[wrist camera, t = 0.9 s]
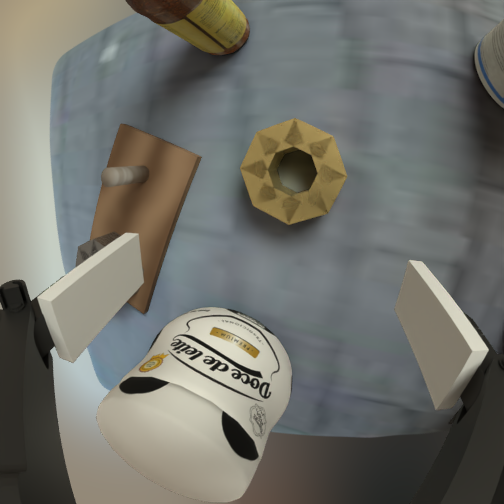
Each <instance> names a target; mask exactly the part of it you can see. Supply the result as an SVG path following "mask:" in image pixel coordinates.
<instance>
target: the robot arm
mask: <svg viewBox="0 0 504 504" xmlns="http://www.w3.org/2000/svg"><path fill="white" fill-rule="evenodd" d="M143 283H144V278H143V270H142V262H141V253H140V243H139V234H136V233H125V234H123V235H122V236H120V237H119V238H117V239H116V240H114V241H113V242H111V243H110V244H108V245H107V246H106V247H104V248H103V249H101V250H100V251H98V252H97V253H95V254H94V255H93V256H91V257H90V258H88V259H87V260H86V261H84V262H83V263H81V264H80V265H79V266H77V267H76V268H75V269H73V270H72V271H71V272H69V273H68V274H67V275H65V276H63V277H62V278H60V279H59V280H58V281H56V283H54V284H52V285H51V286H50V288H47V289H46V290H45V291H43V292H42V293H41V294H40V295H38V296H37V297H36V298H35V299H33V300H32V301H31V300H30V297H29V294H28V291H27V287H26V284H25V282H24V281H23V280H12V281H9V282H6V283H5V284H3V285H1V287H0V303H1V305H2V308H3V310H0V504H76V502H75V498H74V495H73V492H72V488H71V484H70V480H69V476H68V473H67V468H66V464H65V459H64V455H63V449H62V445H61V439H60V433H59V426H58V419H57V411H56V403H55V393H54V378H53V359H52V355H51V353H50V350H51V349H52V348H53V347H54V346H55V348H56V350H57V353H58V355H59V357H60V358H62V359H64V360H67V361H69V362H71V363H74V362H75V361H76V359H77V358H78V357H79V356H80V354H81V353H82V352H83V351H84V350H85V349H86V347H87V346H88V345H89V344H90V343H91V342H92V340H93V339H94V338H95V337H96V336H97V335H98V333H99V332H100V331H101V330H102V329H103V328H104V326H105V325H106V324H107V323H108V322H109V321H110V320H111V318H112V317H113V316H114V315H115V314H116V313H117V312H118V311H119V309H120V308H121V307H122V306H123V305H124V304H125V303H126V302H127V301H128V300H129V298H130V297H131V296H132V295H133V294H134V293H135V292H136V291H137V290H138V289H139V288H140V286H141V285H142V284H143ZM394 310H395V312H396V314H397V316H398V318H399V321H400V323H401V325H402V327H403V329H404V332H405V334H406V336H407V338H408V341H409V343H410V345H411V347H412V350H413V352H414V355H415V357H416V359H417V362H418V364H419V367H420V369H421V372H422V374H423V377H424V379H425V382H426V385H427V387H428V390H429V393H430V395H431V398H432V401H433V404H434V406H435V409H436V410H442V409H449V408H452V407H453V406H454V405H455V403H456V402H457V400H458V399H459V398H460V397H461V399H462V401H463V405H462V407H461V408H460V409H459V411H458V412H457V413H456V415H455V416H454V417H453V418H452V420H451V421H450V422H449V424H452V423H453V421H454V423H453V425H452V427H451V430H450V432H449V434H448V436H447V438H446V440H445V443H444V445H443V447H442V449H441V451H440V453H439V455H438V457H437V459H436V460H435V462H434V464H433V466H432V468H431V470H430V471H429V473H428V475H427V476H426V478H425V480H424V482H423V483H422V485H421V487H420V488H419V490H418V491H417V493H416V494H415V496H414V498H413V499H412V501H411V502H410V504H504V354H496V352H495V350H494V349H493V347H492V346H491V345H490V343H489V342H488V340H487V339H486V337H485V336H484V335H483V333H482V332H481V330H480V329H478V326H477V325H476V323H475V322H474V321H473V319H472V318H470V317H469V316H468V315H467V314H465V313H463V312H462V311H461V309H460V308H459V307H458V305H457V304H456V303H455V301H454V300H453V299H452V298H451V296H450V295H449V294H448V292H447V291H446V290H445V289H444V287H443V286H442V285H441V284H440V282H439V281H438V280H437V279H436V278H435V276H434V275H433V274H432V273H431V272H430V270H429V269H428V268H427V267H426V266H425V265H424V263H423V262H422V261H412V260H408V264H407V268H406V272H405V275H404V279H403V283H402V286H401V289H400V293H399V296H398V299H397V302H396V306H395V309H394Z"/></svg>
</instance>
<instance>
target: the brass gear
mask: <svg viewBox="0 0 504 504" xmlns="http://www.w3.org/2000/svg"><path fill="white" fill-rule="evenodd" d="M297 150H302V151H304V152H306V153H308V154H310V155H312V158H313V161H314V164H315V167H316V170H317V173H318V174H317V176H316V178H315V180H314V182H313V184H312V186H311V188H310V189H308V190H305V191H301V192H298V193H296V192H294V191H293V190H291V189H289V188H287V187H285V186H283V185H282V183H281V180H280V177H279V174H278V171H277V168H278V166H279V164H280V162H281V160H282V158H283V156H284V155H285V154H288V153H291V152H294V151H297ZM240 170H241V172H242V175H243V178H244V181H245V184H246V187H247V190H248V192H249V195H250V198H251V201H252V204H253V206H254V207H256V208H258V209H260V210H262V211H264V212H266V213H268V214H270V215H271V216H273V217H275V218H277V219H279V220H281V221H283V222H285V223H286V224H288V225H290V224H293V223H297V222H300V221H304V220H307V219H310V218H314V217H317V216H321V215H324V214H328V212H329V211H330V209H331V207H332V205H333V203H334V201H335V199H336V197H337V195H338V193H339V192H340V190H341V188H342V186H343V184H344V182H345V180H346V178H347V175H346V172H345V168H344V165H343V162H342V160H341V157H340V154H339V151H338V148H337V145H336V142H335V140H334V137H333V136H332V135H330V134H328V133H326V132H324V131H321V130H319V129H317V128H315V127H313V126H311V125H309V124H307V123H305V122H302V121H300V120H298V119H296V118H294V119H291V120H288V121H285V122H283V123H280V124H277V125H274V126H272V127H269V128H266V129H263V130H261V131H258V132H256V135H255V137H254V139H253V141H252V143H251V145H250V147H249V150H248V152H247V154H246V156H245V158H244V160H243V163H242V165H241V167H240Z"/></svg>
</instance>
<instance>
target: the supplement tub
mask: <svg viewBox="0 0 504 504" xmlns="http://www.w3.org/2000/svg"><path fill="white" fill-rule="evenodd" d="M475 65H476V69H477V72H478V75H479V78H480V80H481V82H482V84H483V85H484V87H485V89H486V90H487V92H488V93H489V94H490V96H491V97H492V98H493V99H494V100H495V101H496V102H497V103H498V104H499V105H500V106H501V107H503V108H504V19H503V20H502V21H501V22H500V23H499V24H498V25H497V26H496V27H495V28H493V29H492V30H491V31H490V32H489V33H488V34H487V35H486V36H484V37H483V38H482V39H481V40H480V41H479V43H478V44H477V46H476V49H475Z"/></svg>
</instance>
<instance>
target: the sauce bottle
mask: <svg viewBox="0 0 504 504" xmlns="http://www.w3.org/2000/svg"><path fill="white" fill-rule="evenodd" d="M126 2H127V3H128V4H129V5H130V6H131V8H132V9H133V10H134V11H136V12H137V13H139V14H141V15H143V16H145V17H147V18H149V19H150V20H151V21H153V22H154V23H156V24H158V25H160V26H162V27H163V28H165V29H167V30H169V31H170V32H172V33H174V34H175V35H177V36H179V37H180V38H182V39H184V40H186V41H187V42H189V43H191V44H192V45H194V46H195V47H197V48H199V49H200V50H202V51H205V52H207V53H209V54H211V55H225V54H228V53H233V52H234V51H236V50H238V49H239V48H240V47H241V46H242V45H243V44H244V43H245V42H246V40H247V39H248V37H249V33H250V31H249V30H250V28H249V23H248V20H247V19H246V18H245V16H244V14H243V13H242V11H241V10H240V9H239V8H238V7H237V6H236V5H235V3H234V2H233V1H232V0H126Z"/></svg>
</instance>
